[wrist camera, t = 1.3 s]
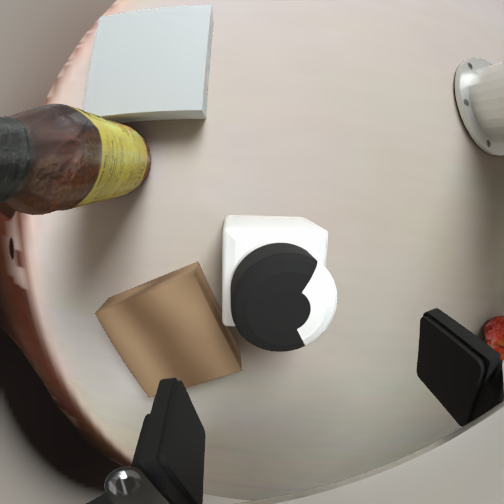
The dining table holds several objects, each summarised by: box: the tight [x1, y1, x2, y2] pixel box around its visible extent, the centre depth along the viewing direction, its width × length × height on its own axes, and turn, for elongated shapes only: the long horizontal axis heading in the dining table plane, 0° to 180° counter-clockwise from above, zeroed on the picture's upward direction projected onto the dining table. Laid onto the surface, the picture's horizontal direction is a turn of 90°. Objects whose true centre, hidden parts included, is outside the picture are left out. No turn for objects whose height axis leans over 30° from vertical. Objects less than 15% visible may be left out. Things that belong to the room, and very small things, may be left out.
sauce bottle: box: [0, 104, 151, 215], centre depth 15 cm, size 6×6×20 cm
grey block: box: [84, 5, 214, 123], centre depth 21 cm, size 10×10×4 cm
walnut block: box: [95, 262, 242, 397], centre depth 27 cm, size 10×10×4 cm
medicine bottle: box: [222, 215, 337, 352], centre depth 22 cm, size 7×7×12 cm
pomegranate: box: [483, 316, 504, 361], centre depth 30 cm, size 7×7×10 cm
